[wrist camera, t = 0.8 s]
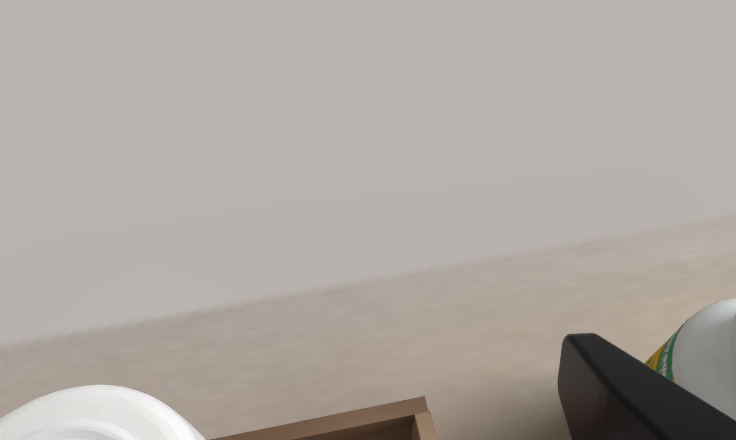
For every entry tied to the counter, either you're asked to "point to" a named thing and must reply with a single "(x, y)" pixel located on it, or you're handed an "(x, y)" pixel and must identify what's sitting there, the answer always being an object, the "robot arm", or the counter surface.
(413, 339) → the counter surface
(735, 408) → the supplement bottle
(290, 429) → the wooden tray
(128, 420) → the sprinkles bottle
